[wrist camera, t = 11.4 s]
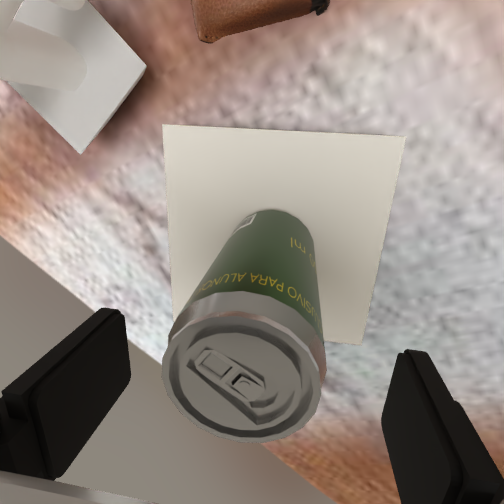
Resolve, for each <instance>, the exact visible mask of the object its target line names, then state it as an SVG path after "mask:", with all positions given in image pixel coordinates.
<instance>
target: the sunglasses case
mask: <svg viewBox="0 0 504 504" xmlns="http://www.w3.org/2000/svg"><path fill="white" fill-rule="evenodd" d="M329 3H330V0H191V5H192V10H193V16H194V21H195V25H196V29H197V33H198V38H199V39H200V40H201V41H203V42H206V43H213V42H215V41H217V40H219V39H220V38H221V37H225V36H227V35H232V34H235V33H239V32H243V31H247V30H252V29H255V28H258V27H263V26H266V25H270V24H273V23H277V22H282V21H285V20H289V19H292V18H296V17H300V16H303V15H306V14H309V13H311V12H312V11H314V10H316V14H317V15H320V14H321V13H323V12H324V11H325V10H326V9H327V7H328V6H329Z"/></svg>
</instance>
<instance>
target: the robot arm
mask: <svg viewBox="0 0 504 504" xmlns="http://www.w3.org/2000/svg"><path fill="white" fill-rule="evenodd" d="M130 378H131V370H130V360H129V351H128V343H127V334H126V325H125V317H124V315H123V314H121V312H120V311H119V310H118V309H110V308H101V309H99V310H98V311H97V312H96V313H94V314H93V315H92V316H91V317H90V318H88V319H87V320H86V321H85V322H84V323H82V324H81V325H80V326H79V327H78V328H76V329H75V330H74V331H73V332H72V333H71V334H69V335H68V336H67V337H66V338H65V339H63V340H62V341H61V342H60V343H59V344H57V345H56V346H55V347H54V348H53V349H51V350H50V351H49V352H48V353H47V354H45V355H44V356H43V357H42V358H41V359H40V360H38V361H37V362H36V363H35V364H34V365H32V366H31V367H30V368H29V369H28V370H26V371H25V372H24V373H23V374H22V375H20V376H19V377H18V378H17V379H16V380H14V381H13V382H12V383H11V384H10V385H8V386H7V387H6V388H5V389H4V390H2V395H3V396H2V397H1V398H0V504H157V503H153V502H148V501H144V500H139V499H135V498H130V497H125V496H120V495H116V494H112V493H107V492H103V491H98V490H93V489H89V488H84V487H79V486H75V485H70V484H65V483H61V482H56V481H54V480H55V479H56V478H59V477H61V476H62V475H63V474H64V473H65V472H66V470H67V469H68V467H69V466H70V465H71V463H72V462H73V461H74V459H75V458H76V456H77V455H78V453H79V452H80V451H81V449H82V448H83V447H84V445H85V444H86V442H87V441H88V440H89V438H90V437H91V435H92V434H93V433H94V431H95V430H96V429H97V427H98V426H99V424H100V423H101V421H102V420H103V419H104V417H105V416H106V415H107V413H108V412H109V410H110V409H111V408H112V406H113V405H114V403H115V402H116V401H117V399H118V398H119V396H120V395H121V394H122V392H123V391H124V389H125V388H126V387H127V385H128V384H129V381H130ZM381 424H382V430H383V434H384V438H385V442H386V446H387V449H388V453H389V457H390V461H391V465H392V469H393V473H394V477H395V480H396V484H397V488H398V492H399V496H400V500H401V504H504V479H503V477H502V475H501V474H500V472H499V470H498V468H497V467H496V465H495V463H494V461H493V460H492V458H491V456H490V455H489V453H488V451H487V449H486V448H485V446H484V444H483V442H482V441H481V439H480V437H479V435H478V434H477V432H476V430H475V428H474V427H473V425H472V423H471V421H470V420H469V418H468V416H467V414H466V413H465V411H464V409H463V408H462V406H461V405H460V403H458V402H457V401H455V400H453V398H452V396H451V394H450V392H449V391H448V389H447V387H446V385H445V383H444V382H443V380H442V378H441V376H440V374H439V373H438V371H437V369H436V367H435V365H434V364H433V362H432V360H431V358H430V357H429V355H428V353H427V352H424V351H417V350H409V349H406V350H405V351H404V353H399V354H398V356H397V360H396V363H395V367H394V371H393V375H392V379H391V382H390V386H389V390H388V394H387V398H386V401H385V405H384V409H383V413H382V418H381Z"/></svg>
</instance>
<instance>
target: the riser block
mask: <svg viewBox="0 0 504 504" xmlns="http://www.w3.org/2000/svg"><path fill="white" fill-rule="evenodd" d="M162 129H163V147H164V165H165V183H166V200H167V218H168V236H169V254H170V272H171V289H172V307H173V322H175V320H176V318H177V316H178V315H179V313H180V312H181V310H182V309H183V307H184V306H185V304H186V303H187V301H188V300H189V298H190V297H191V295H192V294H193V292H194V291H195V289H196V288H197V286H198V285H199V283H200V282H201V280H202V279H203V277H204V275H205V274H206V272H207V271H208V269H209V268H210V266H211V265H212V263H213V262H214V260H215V259H216V257H217V256H218V254H219V253H220V251H221V250H222V248H223V247H224V245H225V244H226V242H227V241H228V239H229V238H230V236H231V235H232V233H233V232H234V230H235V229H236V227H237V226H238V225H239V224H240V223H241V222H242V221H243V220H244V219H245V218H246V217H247V216H250V215H252V214H254V213H256V212H258V211H264V210H278V211H283V212H287V213H289V214H291V215H292V216H294V217H296V218H298V219H299V220H300V221H301V222H302V223H303V224H304V225H305V226H306V227H307V228H308V230H309V232H310V234H311V236H312V239H313V242H314V252H315V261H316V271H317V281H318V290H319V300H320V309H321V319H322V329H323V338H324V341H330V342H337V343H345V344H353V345H362V340H363V336H364V331H365V327H366V322H367V317H368V313H369V308H370V303H371V299H372V294H373V289H374V285H375V280H376V276H377V271H378V266H379V262H380V257H381V252H382V248H383V243H384V239H385V234H386V229H387V225H388V220H389V215H390V211H391V206H392V202H393V197H394V192H395V188H396V183H397V178H398V174H399V169H400V165H401V160H402V155H403V151H404V146H405V141H406V137H404V136H389V135H369V134H349V133H330V132H310V131H290V130H270V129H250V128H230V127H210V126H190V125H165V124H162Z"/></svg>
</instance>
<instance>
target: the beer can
mask: <svg viewBox="0 0 504 504" xmlns="http://www.w3.org/2000/svg"><path fill="white" fill-rule="evenodd" d="M326 371H327V368H326V358H325V348H324V338H323V329H322V319H321V309H320V300H319V290H318V281H317V271H316V261H315V252H314V242H313V239H312V236H311V234H310V232H309V230H308V228H307V227H306V226H305V225H304V224H303V223H302V222H301V221H300V220H299V219H298V218H296V217H294V216H292V215H291V214H289V213H287V212H283V211H278V210H264V211H258V212H256V213H254V214H252V215H250V216H247V217H246V218H245V219H244V220H243V221H242V222H241V223H240V224H239V225H238V226H237V227H236V229H235V230H234V232H233V233H232V235H231V236H230V238H229V239H228V241H227V242H226V244H225V245H224V247H223V248H222V250H221V251H220V253H219V254H218V256H217V257H216V259H215V260H214V262H213V263H212V265H211V266H210V268H209V269H208V271H207V272H206V274H205V275H204V277H203V279H202V280H201V282H200V283H199V285H198V286H197V288H196V289H195V291H194V292H193V294H192V295H191V297H190V298H189V300H188V301H187V303H186V304H185V306H184V307H183V309H182V310H181V312H180V313H179V315H178V316H177V318H176V320H175V322H174V325H173V327H172V329H171V331H170V333H169V335H168V348H167V350H166V352H165V354H164V356H163V359H162V379H163V382H164V385H165V388H166V392H167V395H168V396H169V398H170V399H171V401H172V402H173V403H174V405H175V406H176V408H177V409H178V410H179V412H180V413H181V414H182V415H184V416H185V417H186V418H187V419H189V420H190V421H191V422H192V423H193V424H195V425H196V426H197V427H199V428H201V429H203V430H205V431H207V432H209V433H211V434H213V435H215V436H217V437H221V438H225V439H229V440H233V441H237V442H247V443H250V442H251V443H264V442H269V441H273V440H278V439H282V438H285V437H287V436H289V435H291V434H292V433H294V432H296V431H298V430H299V429H301V428H303V427H304V425H305V424H306V423H307V422H308V421H309V420H310V418H311V417H312V416H313V415H314V414H315V412H316V409H317V406H318V403H319V400H320V396H321V387H322V384H323V381H324V378H325V374H326Z"/></svg>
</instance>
